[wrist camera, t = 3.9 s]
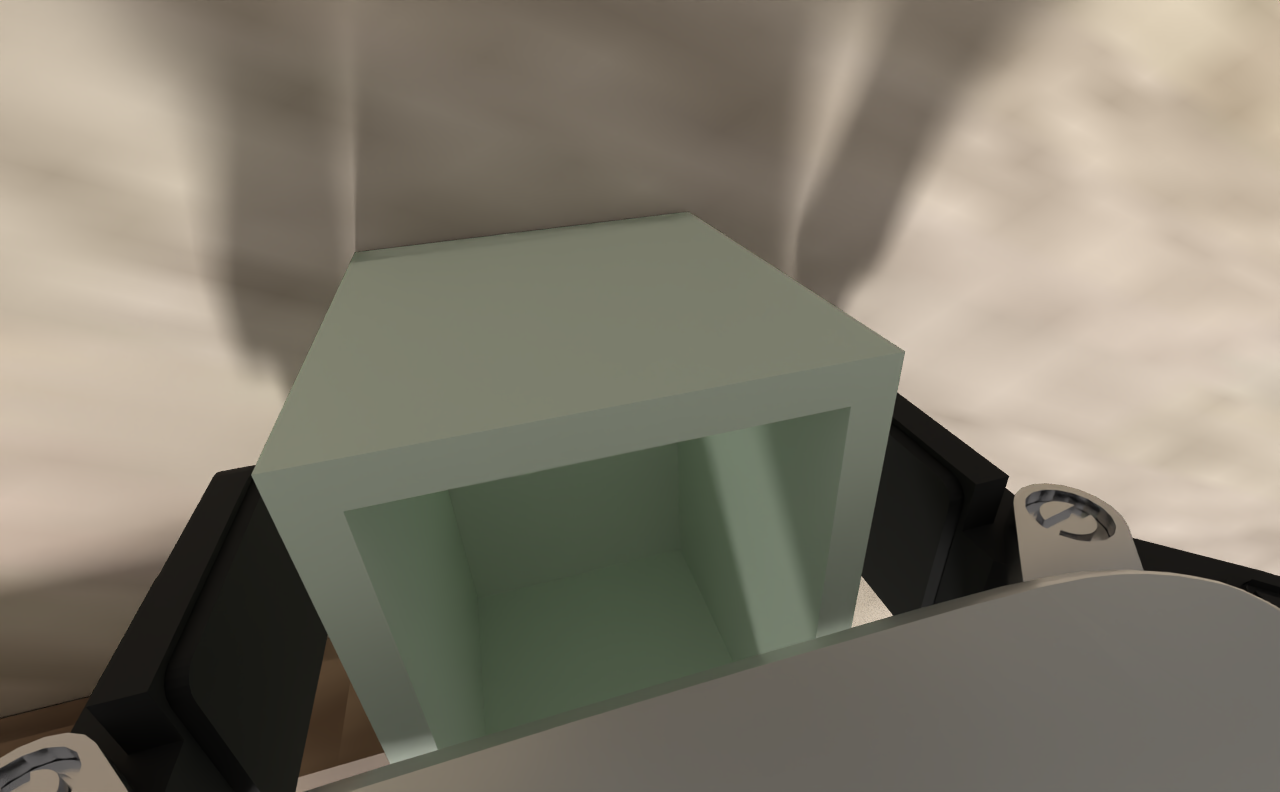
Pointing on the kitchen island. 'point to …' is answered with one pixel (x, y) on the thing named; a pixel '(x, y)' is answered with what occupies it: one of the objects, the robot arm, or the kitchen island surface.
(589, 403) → the small crate
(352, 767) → the crate
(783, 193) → the kitchen island surface
